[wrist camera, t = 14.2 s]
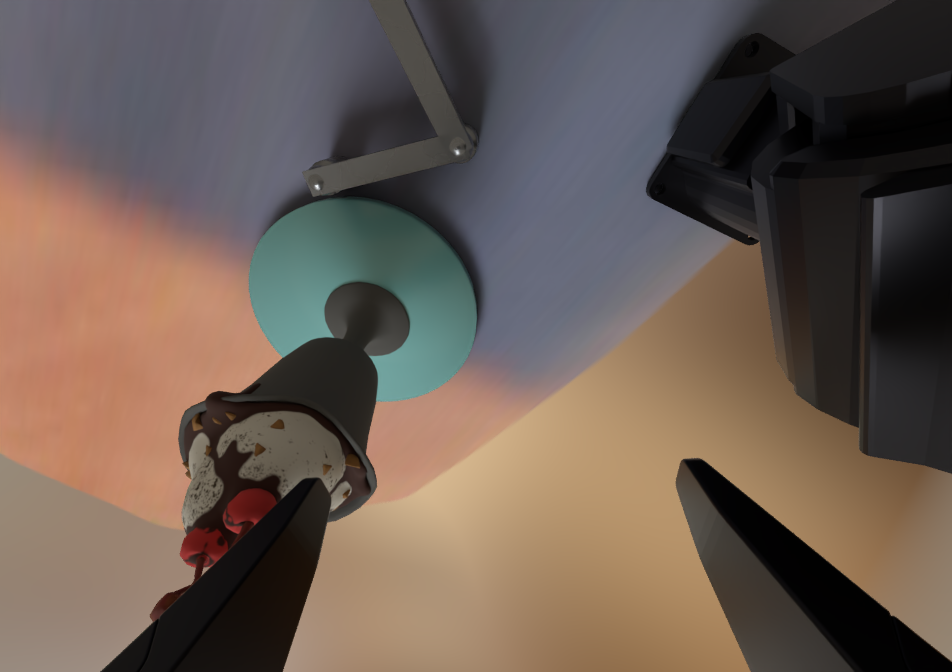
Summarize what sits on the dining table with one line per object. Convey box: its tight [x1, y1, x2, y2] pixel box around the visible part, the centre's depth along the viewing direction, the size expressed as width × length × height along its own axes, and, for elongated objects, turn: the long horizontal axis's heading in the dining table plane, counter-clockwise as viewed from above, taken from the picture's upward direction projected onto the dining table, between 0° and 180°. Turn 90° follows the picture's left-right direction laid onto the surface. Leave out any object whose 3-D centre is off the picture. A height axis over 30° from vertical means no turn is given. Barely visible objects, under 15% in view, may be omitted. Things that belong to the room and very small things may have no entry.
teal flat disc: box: [249, 196, 477, 402], centre depth 21 cm, size 13×13×1 cm
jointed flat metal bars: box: [302, 0, 479, 197], centre depth 14 cm, size 7×10×3 cm
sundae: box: [150, 282, 410, 622], centre depth 14 cm, size 7×7×15 cm
